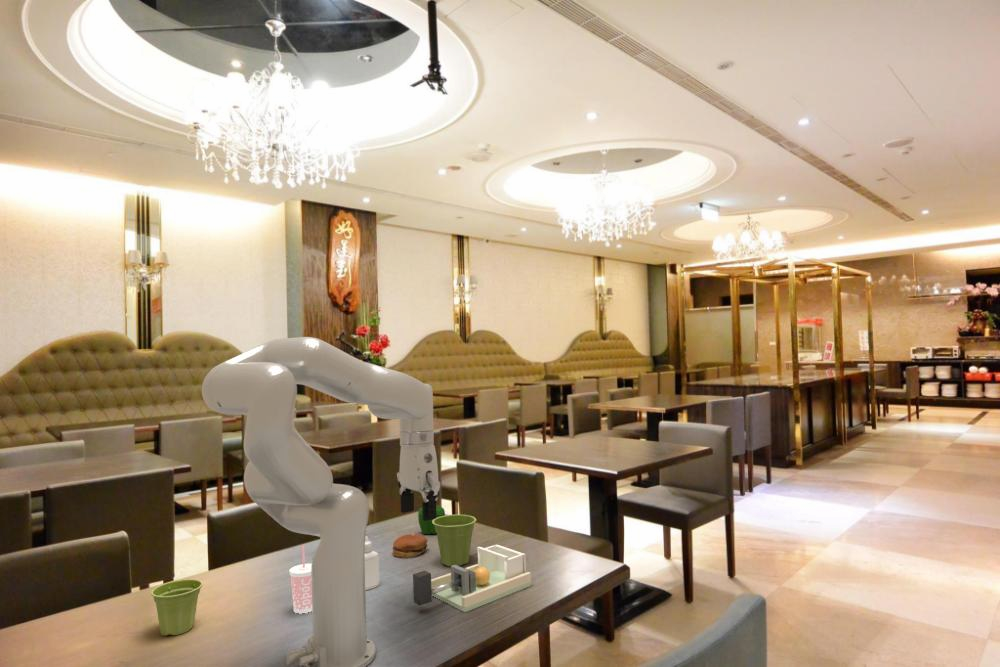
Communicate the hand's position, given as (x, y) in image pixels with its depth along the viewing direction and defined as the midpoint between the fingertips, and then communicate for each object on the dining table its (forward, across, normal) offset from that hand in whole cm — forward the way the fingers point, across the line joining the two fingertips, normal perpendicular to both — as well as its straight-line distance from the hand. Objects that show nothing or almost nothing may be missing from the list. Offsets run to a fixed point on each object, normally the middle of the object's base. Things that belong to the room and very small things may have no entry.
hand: (418, 515), depth 129 cm
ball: (+16, -2, -16) cm, 23 cm away
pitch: (+19, -2, -15) cm, 25 cm away
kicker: (+18, -3, -5) cm, 19 cm away
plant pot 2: (+19, +17, -21) cm, 33 cm away
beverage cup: (+20, +16, +20) cm, 33 cm away
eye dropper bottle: (+20, +18, +4) cm, 27 cm away
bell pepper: (+19, +45, -31) cm, 57 cm away
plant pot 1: (+20, +25, +44) cm, 54 cm away
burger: (+20, +33, -16) cm, 41 cm away
